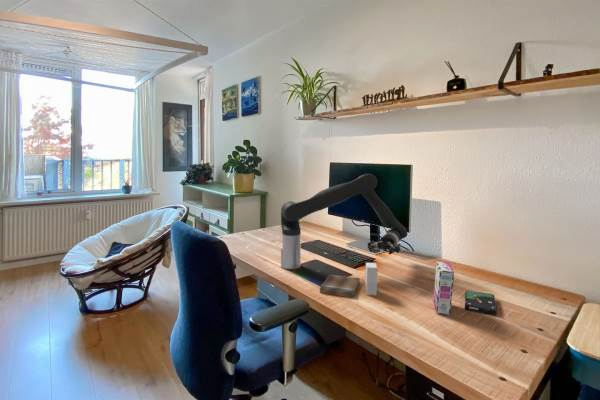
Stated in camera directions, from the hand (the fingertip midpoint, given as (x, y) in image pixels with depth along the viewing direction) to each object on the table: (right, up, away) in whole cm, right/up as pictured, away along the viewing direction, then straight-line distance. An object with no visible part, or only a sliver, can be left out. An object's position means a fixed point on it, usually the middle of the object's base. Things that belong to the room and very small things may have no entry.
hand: (379, 250), depth 143 cm
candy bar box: (+18, -19, -21) cm, 33 cm away
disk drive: (+34, -19, -18) cm, 43 cm away
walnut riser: (-18, -15, -2) cm, 24 cm away
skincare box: (-6, -16, -7) cm, 19 cm away
